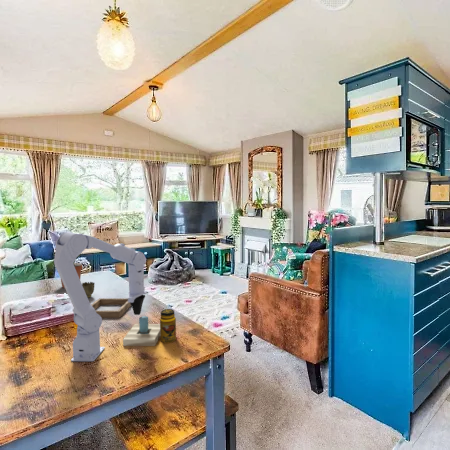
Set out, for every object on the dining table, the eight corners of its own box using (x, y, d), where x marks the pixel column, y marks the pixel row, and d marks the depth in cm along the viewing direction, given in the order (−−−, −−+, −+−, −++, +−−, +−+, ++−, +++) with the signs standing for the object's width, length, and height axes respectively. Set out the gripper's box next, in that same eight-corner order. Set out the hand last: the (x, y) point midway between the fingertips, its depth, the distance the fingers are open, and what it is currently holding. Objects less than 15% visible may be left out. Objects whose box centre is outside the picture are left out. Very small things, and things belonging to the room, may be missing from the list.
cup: (89, 299, 168) (89, 285, 168) (77, 299, 170) (77, 284, 169) (97, 295, 176) (97, 281, 175) (86, 294, 177) (85, 281, 176)
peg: (147, 339, 121) (146, 319, 120) (138, 339, 121) (137, 319, 120) (150, 335, 124) (149, 316, 124) (141, 335, 125) (140, 316, 124)
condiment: (169, 346, 116) (168, 315, 115) (152, 341, 120) (151, 311, 119) (181, 338, 122) (180, 309, 121) (164, 334, 127) (163, 305, 125)
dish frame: (119, 317, 143) (119, 311, 143) (82, 317, 143) (82, 311, 143) (132, 304, 161) (132, 298, 161) (99, 304, 162) (99, 298, 161)
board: (154, 345, 116) (154, 339, 115) (123, 345, 116) (122, 339, 116) (163, 329, 129) (163, 324, 129) (135, 329, 130) (134, 324, 130)
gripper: (140, 286, 115) (141, 321, 116) (151, 276, 130) (152, 307, 131) (121, 286, 116) (123, 321, 117) (134, 276, 130) (135, 307, 131)
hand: (137, 314), depth 124 cm, fingers closed
